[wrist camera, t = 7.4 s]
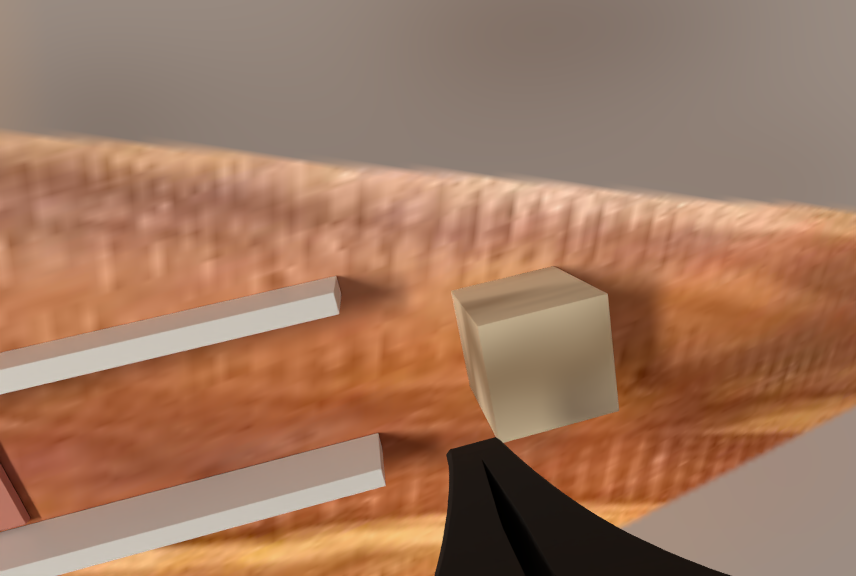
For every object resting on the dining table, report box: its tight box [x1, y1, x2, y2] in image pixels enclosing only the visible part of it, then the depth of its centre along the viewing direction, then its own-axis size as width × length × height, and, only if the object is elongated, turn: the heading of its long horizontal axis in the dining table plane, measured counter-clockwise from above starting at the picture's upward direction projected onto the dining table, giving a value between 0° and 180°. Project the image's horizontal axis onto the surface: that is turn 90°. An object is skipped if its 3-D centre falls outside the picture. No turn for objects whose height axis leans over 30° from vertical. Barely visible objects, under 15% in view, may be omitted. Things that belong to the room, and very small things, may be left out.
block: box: [451, 266, 619, 443], centre depth 18 cm, size 4×4×4 cm
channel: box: [0, 276, 386, 576], centre depth 17 cm, size 8×18×2 cm, turn 102°
